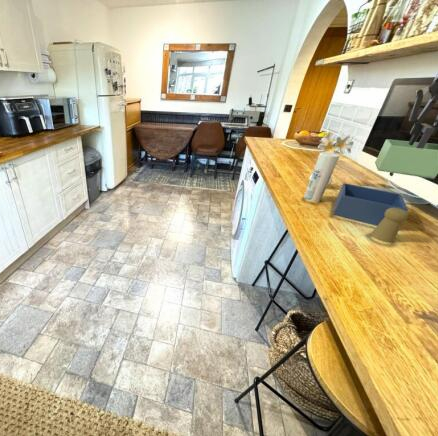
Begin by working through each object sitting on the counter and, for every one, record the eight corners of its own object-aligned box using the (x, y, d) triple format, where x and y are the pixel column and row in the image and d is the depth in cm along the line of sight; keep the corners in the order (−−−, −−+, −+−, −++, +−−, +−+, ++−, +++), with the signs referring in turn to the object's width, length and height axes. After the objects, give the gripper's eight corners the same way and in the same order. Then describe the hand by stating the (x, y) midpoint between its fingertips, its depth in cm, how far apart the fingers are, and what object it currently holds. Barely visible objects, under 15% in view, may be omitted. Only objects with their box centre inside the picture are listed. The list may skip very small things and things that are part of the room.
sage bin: (425, 169, 88) (452, 125, 80) (434, 179, 79) (465, 130, 71) (374, 162, 95) (394, 121, 87) (377, 170, 86) (400, 125, 79)
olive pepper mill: (373, 242, 77) (392, 212, 71) (366, 232, 82) (382, 203, 76) (397, 246, 75) (417, 216, 69) (388, 236, 80) (406, 207, 74)
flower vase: (301, 189, 114) (320, 134, 101) (305, 178, 127) (324, 128, 114) (333, 196, 107) (359, 139, 94) (335, 184, 120) (358, 132, 107)
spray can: (300, 196, 107) (317, 151, 97) (316, 197, 106) (334, 152, 96) (306, 202, 101) (324, 155, 91) (322, 204, 100) (343, 157, 90)
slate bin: (388, 214, 93) (401, 194, 88) (393, 232, 82) (407, 209, 78) (334, 202, 102) (343, 183, 97) (332, 216, 91) (342, 195, 87)
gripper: (427, 64, 72) (388, 144, 84) (506, 62, 64) (450, 150, 76) (422, 65, 77) (385, 140, 89) (494, 64, 70) (443, 146, 81)
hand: (415, 144), depth 82 cm, fingers closed on sage bin, 2 cm apart
